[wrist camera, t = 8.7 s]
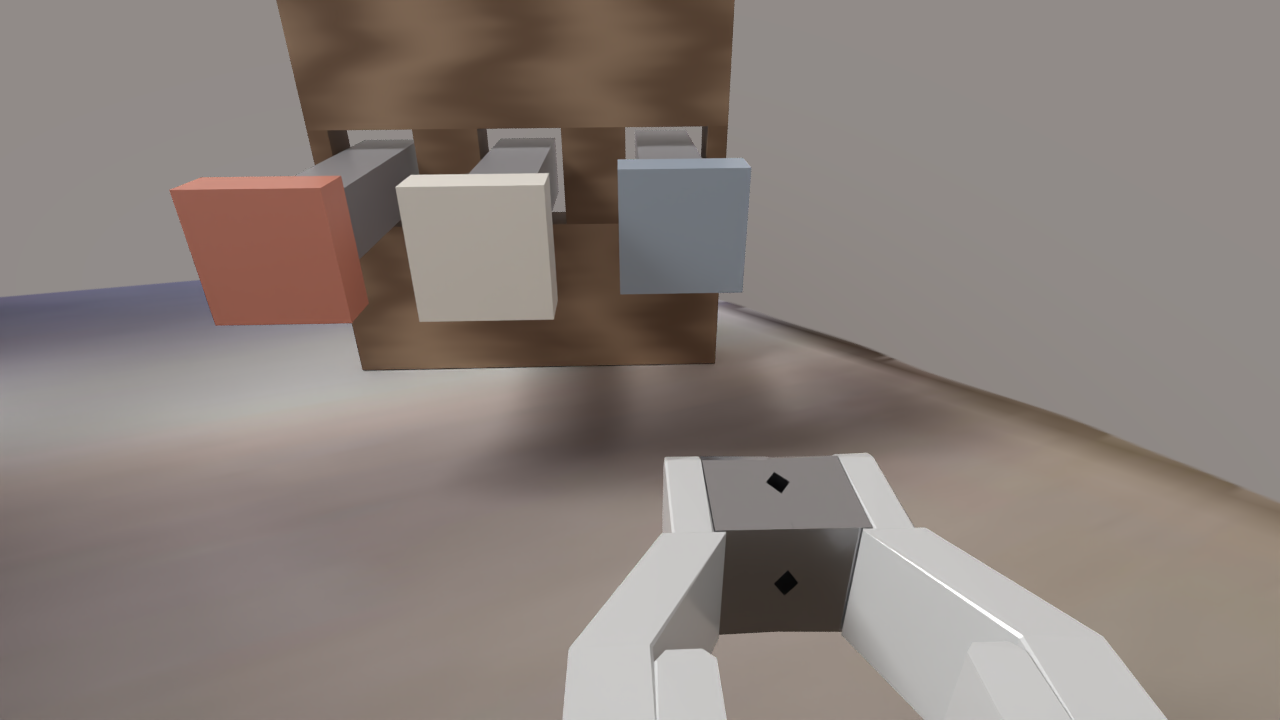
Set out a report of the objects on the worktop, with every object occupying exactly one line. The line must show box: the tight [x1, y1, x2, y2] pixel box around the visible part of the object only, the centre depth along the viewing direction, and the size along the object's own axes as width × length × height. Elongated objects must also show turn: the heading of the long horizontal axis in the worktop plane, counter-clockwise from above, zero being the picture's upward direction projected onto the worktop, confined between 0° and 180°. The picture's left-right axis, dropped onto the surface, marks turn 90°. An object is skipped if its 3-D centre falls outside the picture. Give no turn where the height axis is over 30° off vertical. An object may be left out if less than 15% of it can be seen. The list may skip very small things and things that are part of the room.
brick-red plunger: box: [170, 140, 419, 326], centre depth 24 cm, size 4×12×4 cm, turn 2°
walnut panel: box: [277, 0, 735, 370], centre depth 29 cm, size 17×2×16 cm, turn 92°
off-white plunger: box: [395, 138, 558, 322], centre depth 24 cm, size 4×12×4 cm, turn 2°
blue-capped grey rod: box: [618, 130, 751, 294], centre depth 26 cm, size 4×12×4 cm, turn 2°
